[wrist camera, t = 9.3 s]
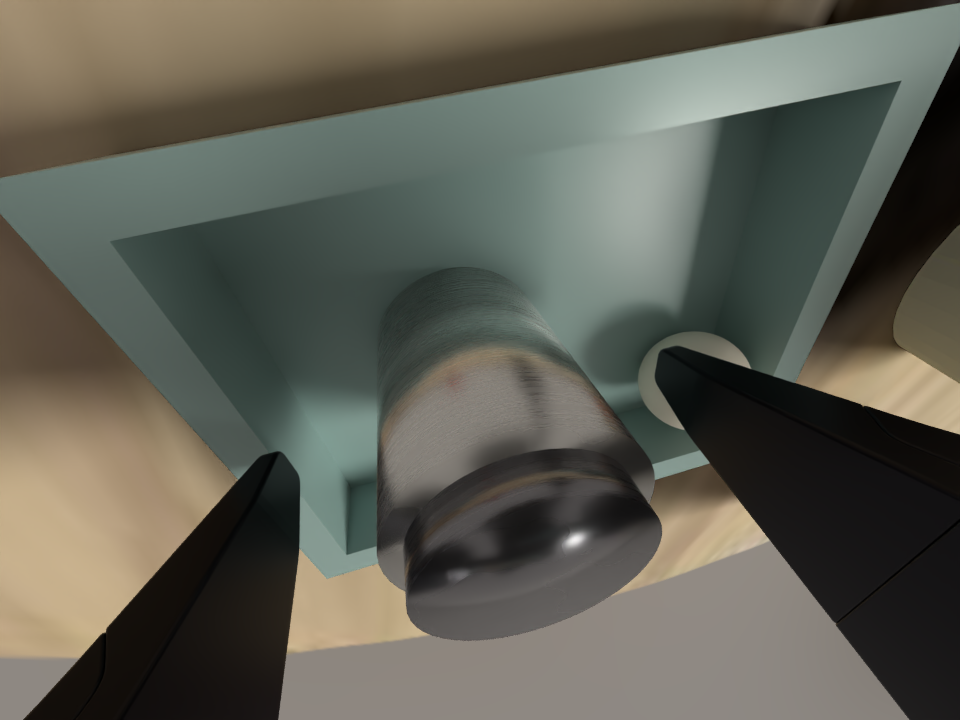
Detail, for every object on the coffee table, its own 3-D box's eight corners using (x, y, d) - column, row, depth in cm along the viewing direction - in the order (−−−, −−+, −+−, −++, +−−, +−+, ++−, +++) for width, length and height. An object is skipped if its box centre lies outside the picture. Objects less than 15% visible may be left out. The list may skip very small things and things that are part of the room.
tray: (813, 27, 9) (981, -1, 6) (704, 393, 16) (763, 447, 14) (109, 155, 7) (-27, 183, 5) (335, 497, 14) (326, 578, 12)
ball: (712, 304, 12) (799, 356, 10) (693, 376, 14) (761, 436, 12) (623, 326, 12) (689, 387, 10) (616, 397, 14) (669, 464, 11)
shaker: (531, 249, 10) (721, 431, 4) (540, 384, 13) (661, 596, 7) (352, 290, 9) (318, 549, 4) (402, 420, 12) (422, 675, 7)
